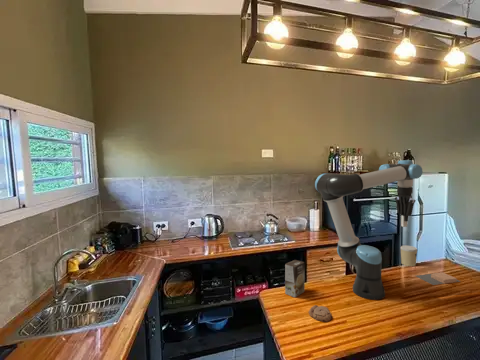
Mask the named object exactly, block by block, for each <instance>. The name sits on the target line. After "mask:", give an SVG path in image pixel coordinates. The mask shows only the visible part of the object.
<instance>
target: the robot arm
mask: <svg viewBox="0 0 480 360" xmlns="http://www.w3.org/2000/svg"><path fill="white" fill-rule="evenodd" d="M422 175H423V168H422V166H421V165H420V164H417V163H415V164H414V162H413V160H411V159H405V160H403V159H401V160H398V162H397V163H385V164H382V165H380V166H379V168H378V170H374V171H371V172H366V173H361V174H358V173H351V174H341V173H332V172H327V173H326V172H325V173H321V174H320V175H318V176H317V178H316V179H315V181H314V188H315V190H316V191H317V192H318V193H319V194H321V198H322V200H323V201H324V202H326V203H327V204H326V205H327V207H328V209H329V210H328V211H329V213H330V216H331V218H332V222H333V224H334V227H335V230H336V234H337V236H338V241H337V247H336V252H337V255H338V256H339V258H341V260H342V261H344V262H346V263H348V264H350V265H351V266H353V267H354V268H356V276H355V279H354V282H353V284H352V292H353V293H354V294H355V295H356V296H358V297H360V298H363V299H367V300H377V301H378V300H382V299H384V298H385V296H386V290H385V288H384V287H385V286H384V285H383V281H382V266H383V265H382V264H383V258H382V252H381V250H380V249H378V248H377V247H374V246H371V245H367V244H361V241H360V238H359V237H357V236H356V234H355V232H354V228H353V226H352V223H351V219H350V217H349V214H348V211H347V210H348V209H347V207H346V205H345V202H344V197H345V196H349V195H354V194H358V193H361V192H362V191H363V190H366V189H369V188H375V187H377V186H383V185H387V184H390V183H392V184H393V183H395V182H396V183H397V186H398V187H397V194H398V195H397V196H395V197H394V200H395V204H396V209H397V214H399V215H400V223H401V224H400V225H401V227H403V228H406V227H408V222H409V216H412V215H413V208H414V205H415V203H416V199H414V198H413V196H412V194H413V192H414V191H413V190H414V189H413V180H415V179H420V177H422Z"/></svg>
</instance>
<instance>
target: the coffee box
mask: <svg viewBox="0 0 480 360" xmlns="http://www.w3.org/2000/svg"><path fill="white" fill-rule="evenodd" d="M284 267H285V269H284V271H285V272H284V275H285V276H284V281H285V282H284V283H285V285H284V287H285V288H284V293H285V295H287V296H290V297H292V298H297V297H298V296H300V295H301V294H303V293H305V288H306V287H305V284H306V282H305V281H306V280H305V279H306V277H305V276H306V275H305V274H306V273H305V269H306V268H305V261H301V260H297V259H294V260H292V261H291V260H290V261H289V262H286V263H285V265H284Z"/></svg>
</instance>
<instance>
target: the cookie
mask: <svg viewBox="0 0 480 360" xmlns="http://www.w3.org/2000/svg"><path fill="white" fill-rule="evenodd" d="M308 314H309V316H310V317H311V318H313V319H314V320H315V321H319V322H321V323H327V322H329V321H331V320H332V317H333V316H332V313H331V311H330V310H329V308H328V307H327V306H323V305H316V304H315V305H313V306H311V307H310V309H309V310H308Z"/></svg>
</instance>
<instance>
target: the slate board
mask: <svg viewBox="0 0 480 360" xmlns="http://www.w3.org/2000/svg"><path fill="white" fill-rule="evenodd" d="M435 273H436V272H434V273H425V274H419V275H415V277H416V278H417V279H420V280H422V281H424V282H427V283H428V284H430V285H432V286H435V285H445V284H446V283H442V282H440V281H438V280H436V279H433V278H431V274H435ZM458 282H460V283H461V280H458V279H456V282H455V283H458ZM453 283H454V282H452V284H453Z"/></svg>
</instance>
